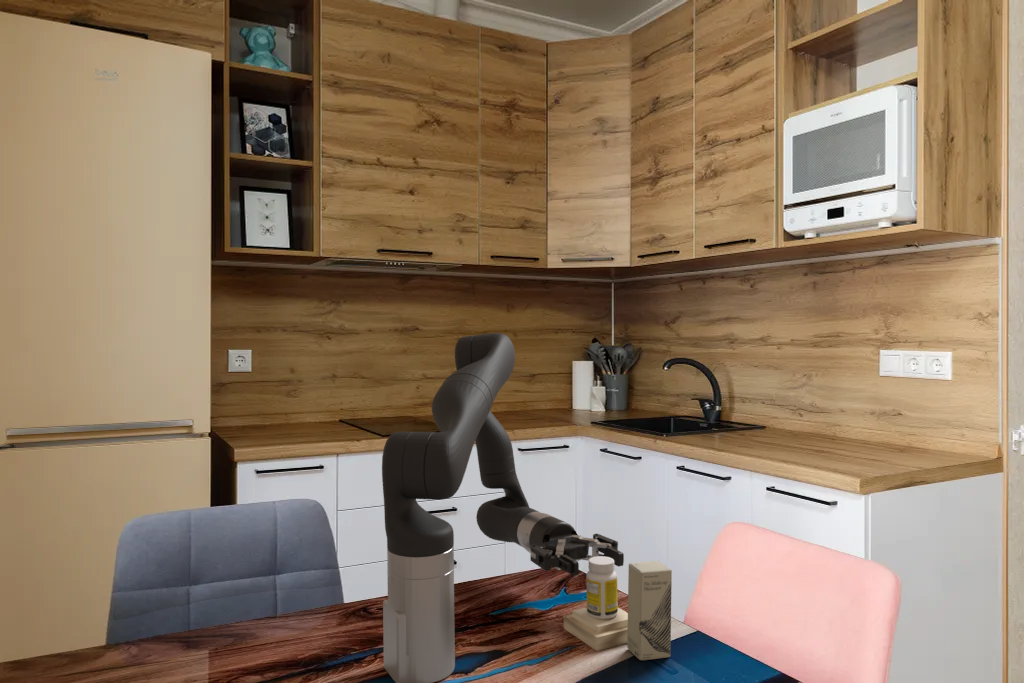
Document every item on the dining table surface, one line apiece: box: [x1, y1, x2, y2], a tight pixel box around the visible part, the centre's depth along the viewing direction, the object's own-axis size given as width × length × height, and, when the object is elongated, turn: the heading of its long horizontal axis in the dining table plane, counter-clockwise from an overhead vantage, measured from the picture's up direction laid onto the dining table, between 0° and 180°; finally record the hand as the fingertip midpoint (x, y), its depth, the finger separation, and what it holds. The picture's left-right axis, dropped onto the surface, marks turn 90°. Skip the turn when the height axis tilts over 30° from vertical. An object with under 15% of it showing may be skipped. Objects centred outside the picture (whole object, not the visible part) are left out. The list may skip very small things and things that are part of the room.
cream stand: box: [563, 606, 628, 652], centre depth 110 cm, size 9×9×3 cm
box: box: [626, 560, 673, 661], centre depth 104 cm, size 5×4×13 cm
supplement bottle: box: [586, 556, 619, 619], centre depth 110 cm, size 5×5×8 cm
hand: (599, 564), depth 111 cm, fingers open, 8 cm apart
